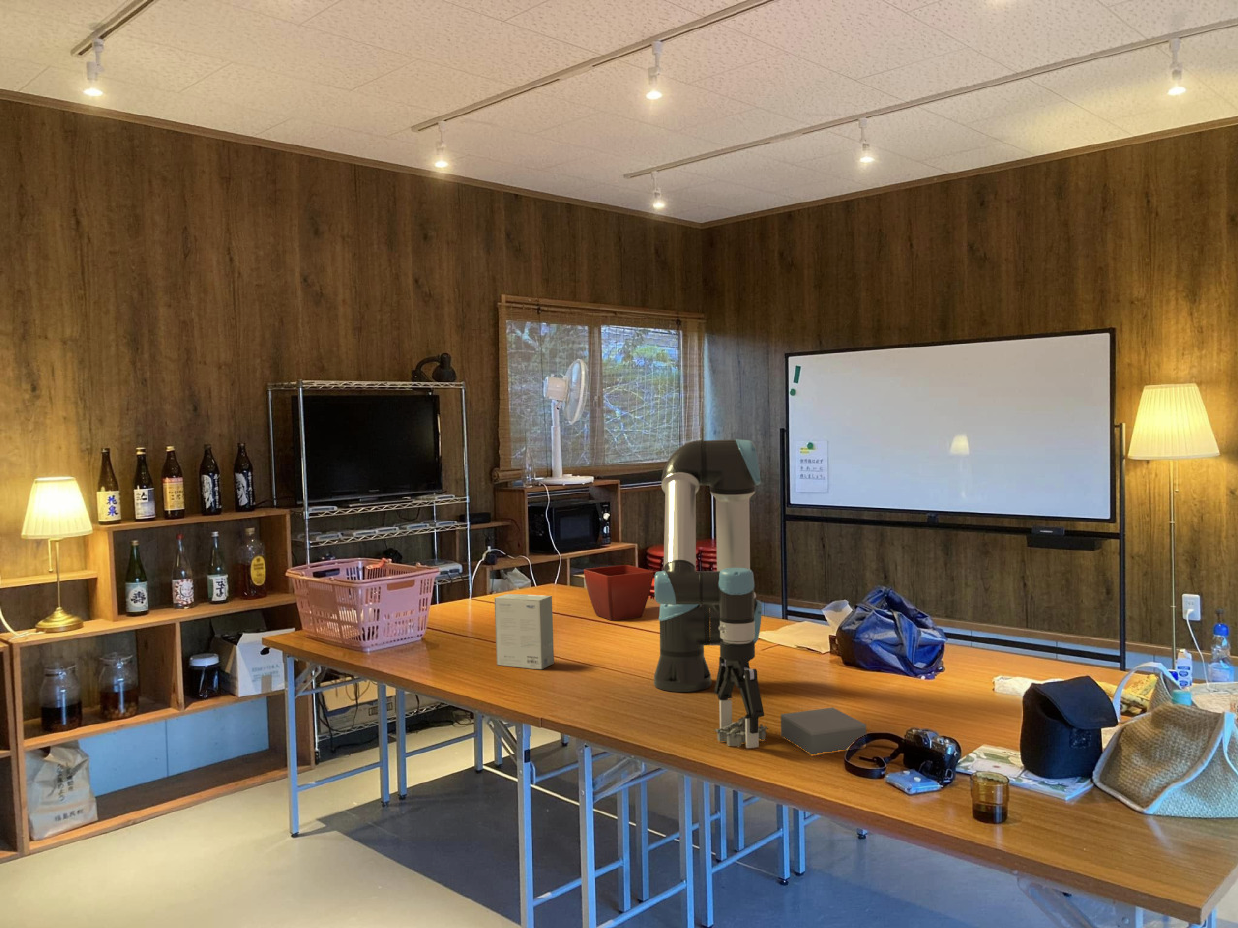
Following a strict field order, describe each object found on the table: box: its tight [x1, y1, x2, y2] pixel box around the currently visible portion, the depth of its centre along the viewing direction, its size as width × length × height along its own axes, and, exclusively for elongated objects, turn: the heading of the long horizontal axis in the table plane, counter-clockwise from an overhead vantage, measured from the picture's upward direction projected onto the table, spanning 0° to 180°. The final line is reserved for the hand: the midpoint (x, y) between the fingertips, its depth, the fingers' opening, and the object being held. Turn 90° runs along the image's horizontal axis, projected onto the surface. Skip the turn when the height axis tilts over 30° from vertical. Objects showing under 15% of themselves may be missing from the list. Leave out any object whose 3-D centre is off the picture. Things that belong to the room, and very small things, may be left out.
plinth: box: [780, 707, 867, 754], centre depth 200 cm, size 13×13×5 cm
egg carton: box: [713, 716, 770, 748], centre depth 203 cm, size 11×8×4 cm
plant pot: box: [583, 564, 654, 622], centre depth 337 cm, size 19×19×17 cm
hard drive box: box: [494, 593, 555, 670], centre depth 271 cm, size 16×8×20 cm, turn 65°
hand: (738, 737), depth 204 cm, fingers open, 12 cm apart
